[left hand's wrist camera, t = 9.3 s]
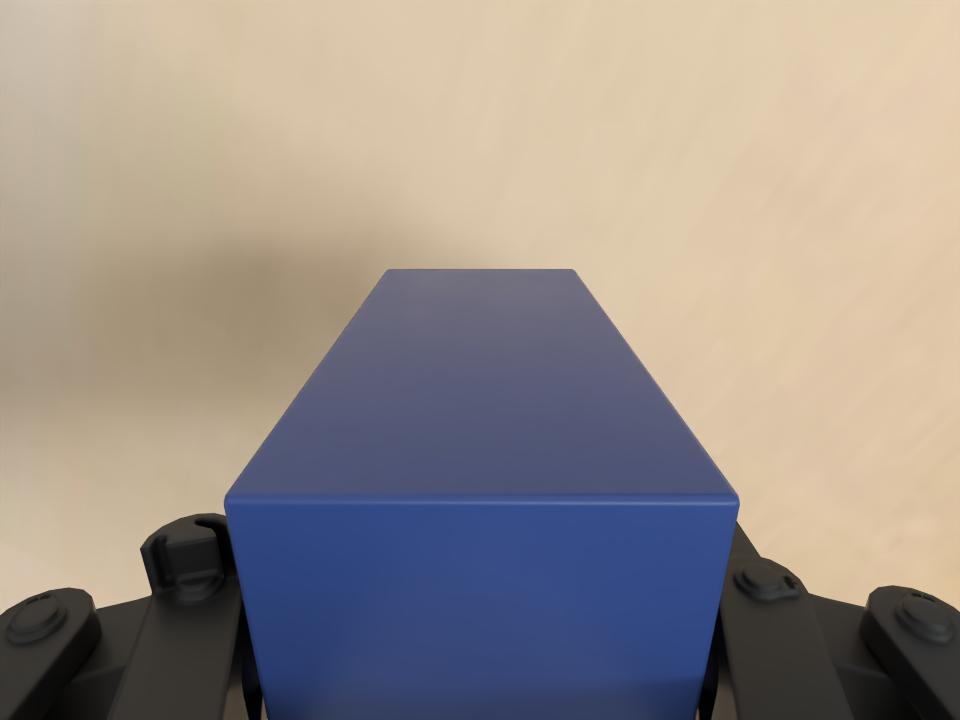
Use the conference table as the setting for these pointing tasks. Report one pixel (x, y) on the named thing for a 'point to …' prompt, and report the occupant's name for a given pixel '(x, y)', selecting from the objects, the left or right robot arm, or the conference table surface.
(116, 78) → the conference table surface
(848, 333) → the conference table surface
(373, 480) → the brick
